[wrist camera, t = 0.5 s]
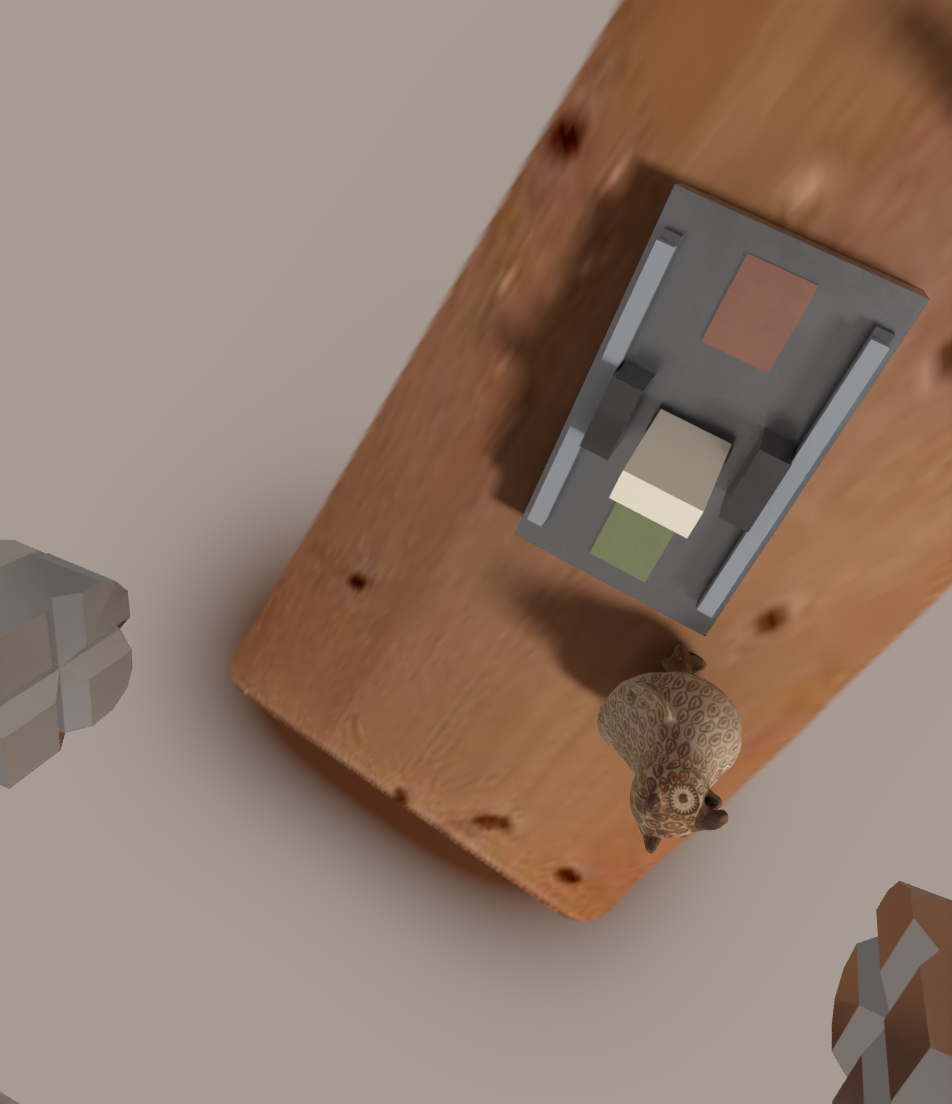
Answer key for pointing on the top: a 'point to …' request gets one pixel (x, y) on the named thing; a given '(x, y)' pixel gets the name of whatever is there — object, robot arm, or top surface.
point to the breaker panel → (717, 393)
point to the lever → (672, 473)
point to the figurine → (673, 746)
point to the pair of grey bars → (802, 454)
